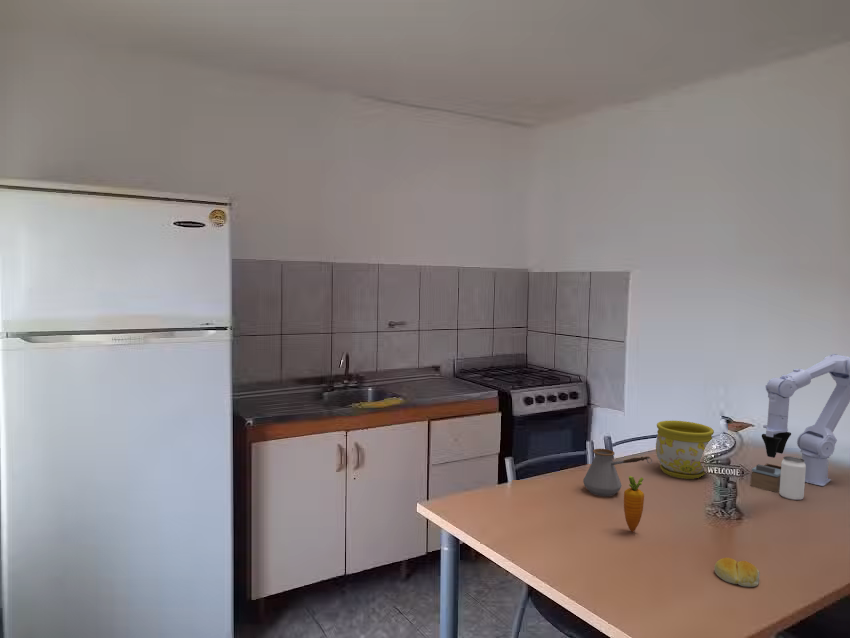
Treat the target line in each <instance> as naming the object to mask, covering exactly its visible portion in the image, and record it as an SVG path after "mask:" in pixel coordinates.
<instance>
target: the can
mask: <svg viewBox="0 0 850 638" xmlns="http://www.w3.org/2000/svg"><path fill="white" fill-rule="evenodd" d="M782 458H783V459H782V460H781V465H780V466H781V476H780V490H779V491H778V492H779V495H780V496H781V497H782V498H785V499H786V500H787V499H788V500H790V501H791V500H793V501H802V500H803V499H804V498H805V497H804V496H805V495H804V494H805V486H806V485H805V484H806V482H805V472H806V465H805V463H804V460H803V459H802V457H797V456H791V455H790V456H789V455H787V456H783V457H782Z"/></svg>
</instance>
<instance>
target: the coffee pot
mask: <svg viewBox="0 0 850 638" xmlns="http://www.w3.org/2000/svg"><path fill="white" fill-rule="evenodd" d="M592 452H593V453H594V458H593V460H592V462H591V464H590V466H589V468H588V470H587V472H586V473H585V476H584V478H583V481H582V482H583V485H584V487H585V488H586V489H587V490H588V491H589V493H591V494H593V495H595V496H600V497H612V496H614V495H616V494H617V493H618V492H619V491H620V490H621V488H622V487H623V486H622V482H621V480H620V477H619V474H618V472H617V469H616V468H617V467H616V465H621V464H628V463H637V462H640V461H642V462H643V461H645V460H646V462H647V464H652V463H653V459H652V458H651V457H650V456H640V457H632V458H627V459H623V460H617V461H613V457H614V455H615V454H616V453H615V451H614V450H612V449H611V450H610V449H607V448H595V449H593V451H592ZM649 459H650V462H649V461H648V460H649Z"/></svg>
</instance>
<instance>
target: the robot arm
mask: <svg viewBox="0 0 850 638" xmlns="http://www.w3.org/2000/svg"><path fill="white" fill-rule="evenodd" d="M828 373H829V374H830V376H831V378H832V380H834V382H835V383H836V385H835V387H834V389H833V391H832V392H831V394H830V396H829V398H828V400H827V402H826V403H825V405H824V407H823V408H822V411H821V413H820V414H819V417H818V418H817V419H816V421H815V423H814V424H813V425H810V426H808V427H806V428H805V429H804V431H803V432H802V433H800V434H799V435H798V437H797V441H796V445H797V447H798V449H800V450H799V451H800V453H801V459H803V460H804V463H805V465H806V472H805V483H808V484H812V485H816V486H820V487H824V486H826V485H827V484H829V482H831V480H832V479H831V478H829V477H828V476H829V459H830V457H831V456H832V455H833V453H834V452H835V449H836V448H835V446H836V444H837V441H838V440H837V437H836V436H835V434H834V433H833V432H834V431H835V429H836V427H837V425H838V424H839V422H840V420H841V418H842V416H843V415H844V414H845V413H844V412H846V409H847V407H848V405H849V404H850V356H847V355H840V354H837V353H832V354H829V355H827V356H825V357H824V358H823V359H822V360H821V361H819V362H817V363H815V364H813V365H812V366H809V367H807V368H806V369H803V368H794V369H793V371H791V372H789V373H787V374H782V375H781V376H780V377H772V378H771V379H769V380H768V381H767V383H766V385H765V391H766V393H767V398H768V409H767V423H766V424H763V425H762V427H763V428H764V429H765V433H762V434H761V439H762V440H763V443H764V446H765V451H766V452H765V453H766V457H769V458H772V459H773V458H776V455H777V454H781V455H782V454H783V453H784V450H785V448H786V445H787V441H788V440H789V438H790V437H791V435H792V433H791V432H789V428H788V424H789V423H788V422H789V410H790V398H791V397H793V395H794V393H795V392H796V391H797V390H800V389H802V388H804V387H806V386H808V385H810V384H811V382H812V379H815V378H818V377H821V376H823V375H825V374H828Z"/></svg>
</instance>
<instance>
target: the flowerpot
mask: <svg viewBox="0 0 850 638" xmlns="http://www.w3.org/2000/svg"><path fill="white" fill-rule="evenodd" d="M656 428H657V437H656V440H655V441H656V442H655V453H656V457H657V459H658V461H659V463H660V465H659V467H660V469H661V470H662V472H663V473H664V474H666V475H668V476H670V477H673V478H677V479H683V478H684V480H695V479H694V478H698V479H700V478H699V477H701V476H702V477H703V476H704V475H706V472H705V473H704V471H705V470H704V468H703V466H702V464H701V463H700V459H701V457H702V454H703V452H704V449H705V447H706V445H707V444H708V442H709V441H710V440H711V439H712V440H713V435H714V433H715V432H714V431H715V430H714V429H713V428H712V427H710V426H707V425H706V424H702V423H697V422H691V421H685V420H662V421H659V422H657V423H656ZM702 477H701V478H702Z"/></svg>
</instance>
